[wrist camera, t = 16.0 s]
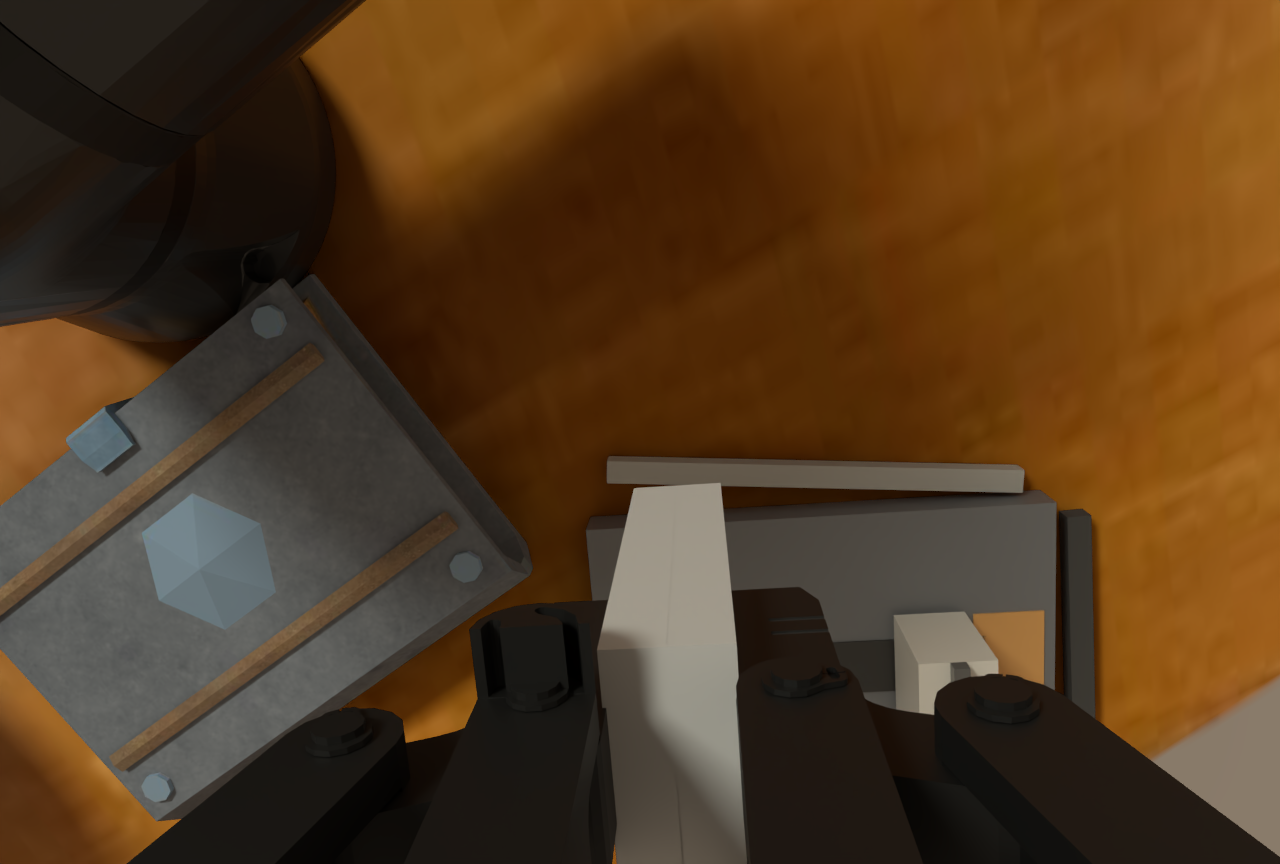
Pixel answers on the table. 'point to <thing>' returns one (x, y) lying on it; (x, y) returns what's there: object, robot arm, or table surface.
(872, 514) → the grey flat rectangular block
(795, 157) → the table surface
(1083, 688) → the bar
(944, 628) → the lever
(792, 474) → the bar
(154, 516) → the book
